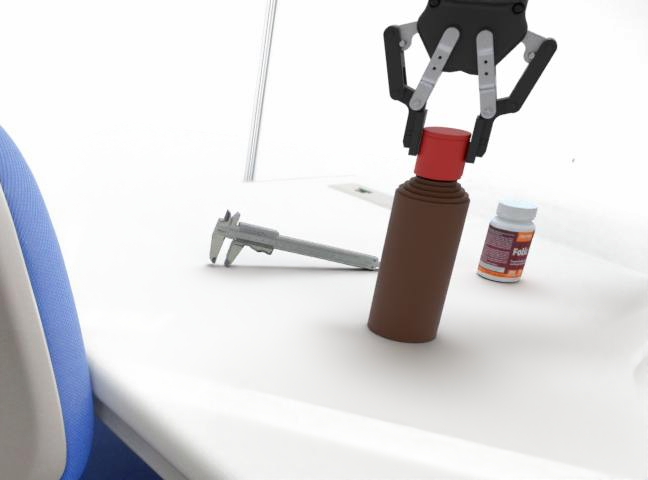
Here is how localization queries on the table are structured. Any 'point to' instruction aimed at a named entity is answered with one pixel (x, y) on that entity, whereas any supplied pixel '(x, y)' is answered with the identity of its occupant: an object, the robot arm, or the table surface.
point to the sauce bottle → (418, 259)
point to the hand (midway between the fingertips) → (441, 156)
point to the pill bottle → (508, 241)
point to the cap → (442, 153)
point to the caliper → (278, 244)
